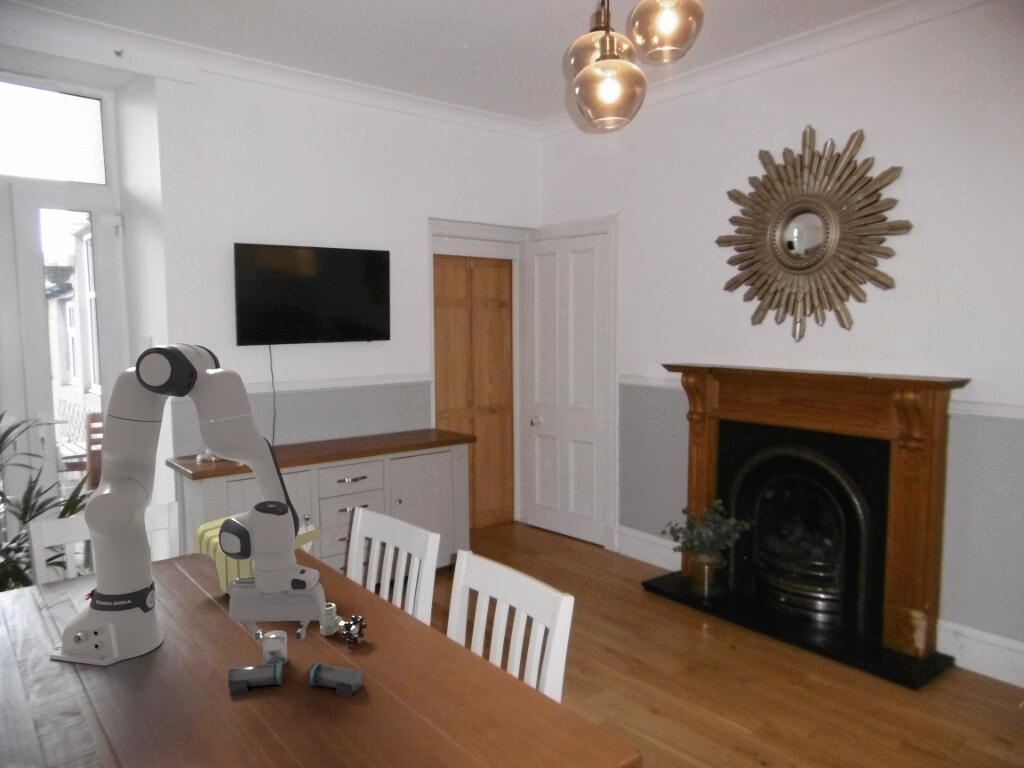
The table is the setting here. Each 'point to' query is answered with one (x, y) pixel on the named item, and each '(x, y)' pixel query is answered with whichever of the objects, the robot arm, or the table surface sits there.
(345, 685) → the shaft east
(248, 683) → the grey pipe fitting
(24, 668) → the table surface
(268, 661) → the coupler
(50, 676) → the table surface
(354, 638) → the valve
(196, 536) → the slatted curved stool
